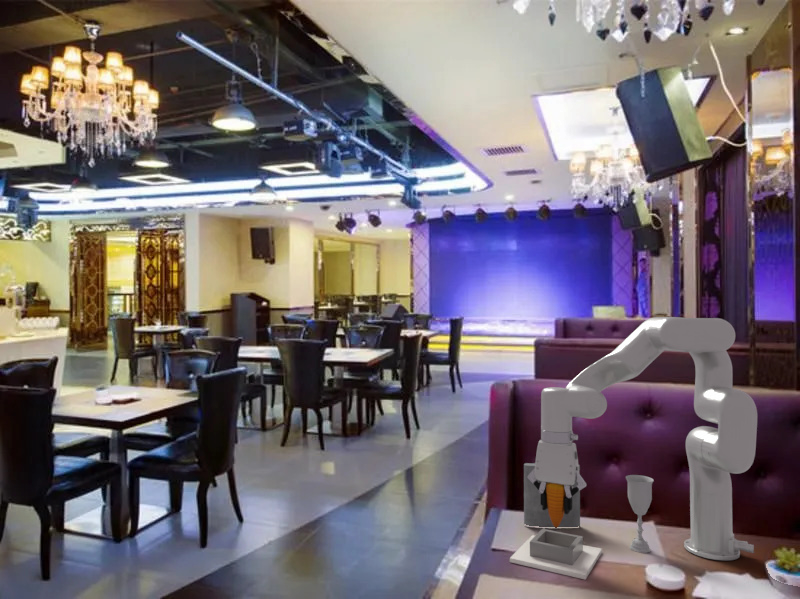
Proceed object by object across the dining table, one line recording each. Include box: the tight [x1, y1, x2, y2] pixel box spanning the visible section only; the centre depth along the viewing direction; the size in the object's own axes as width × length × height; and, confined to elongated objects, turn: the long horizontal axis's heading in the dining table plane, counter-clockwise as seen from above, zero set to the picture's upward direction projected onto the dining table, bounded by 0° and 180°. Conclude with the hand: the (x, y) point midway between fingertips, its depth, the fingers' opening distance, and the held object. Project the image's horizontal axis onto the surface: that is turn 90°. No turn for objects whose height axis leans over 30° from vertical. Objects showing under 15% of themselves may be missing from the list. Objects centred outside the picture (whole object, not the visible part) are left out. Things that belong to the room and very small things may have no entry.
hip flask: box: [523, 462, 581, 527], centre depth 164 cm, size 16×4×20 cm, turn 88°
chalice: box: [625, 474, 655, 554], centre depth 148 cm, size 7×7×18 cm
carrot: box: [546, 483, 566, 528], centre depth 142 cm, size 5×5×15 cm
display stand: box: [509, 529, 603, 580], centre depth 142 cm, size 18×18×4 cm
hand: (556, 509), depth 142 cm, fingers closed on carrot, 4 cm apart
